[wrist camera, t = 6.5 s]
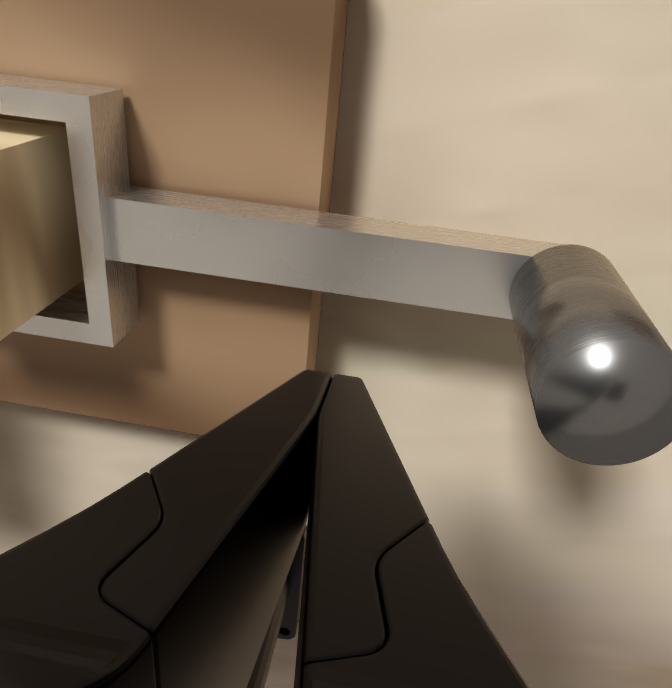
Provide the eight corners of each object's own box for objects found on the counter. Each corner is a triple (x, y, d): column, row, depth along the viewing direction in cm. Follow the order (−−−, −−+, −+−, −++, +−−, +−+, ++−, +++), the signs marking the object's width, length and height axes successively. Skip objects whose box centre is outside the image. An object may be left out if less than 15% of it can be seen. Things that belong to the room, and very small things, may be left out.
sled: (569, 388, 16) (627, 554, 11) (-61, 289, 18) (-257, 396, 13) (648, 152, 13) (774, 235, 8) (-117, 59, 15) (-402, 81, 10)
